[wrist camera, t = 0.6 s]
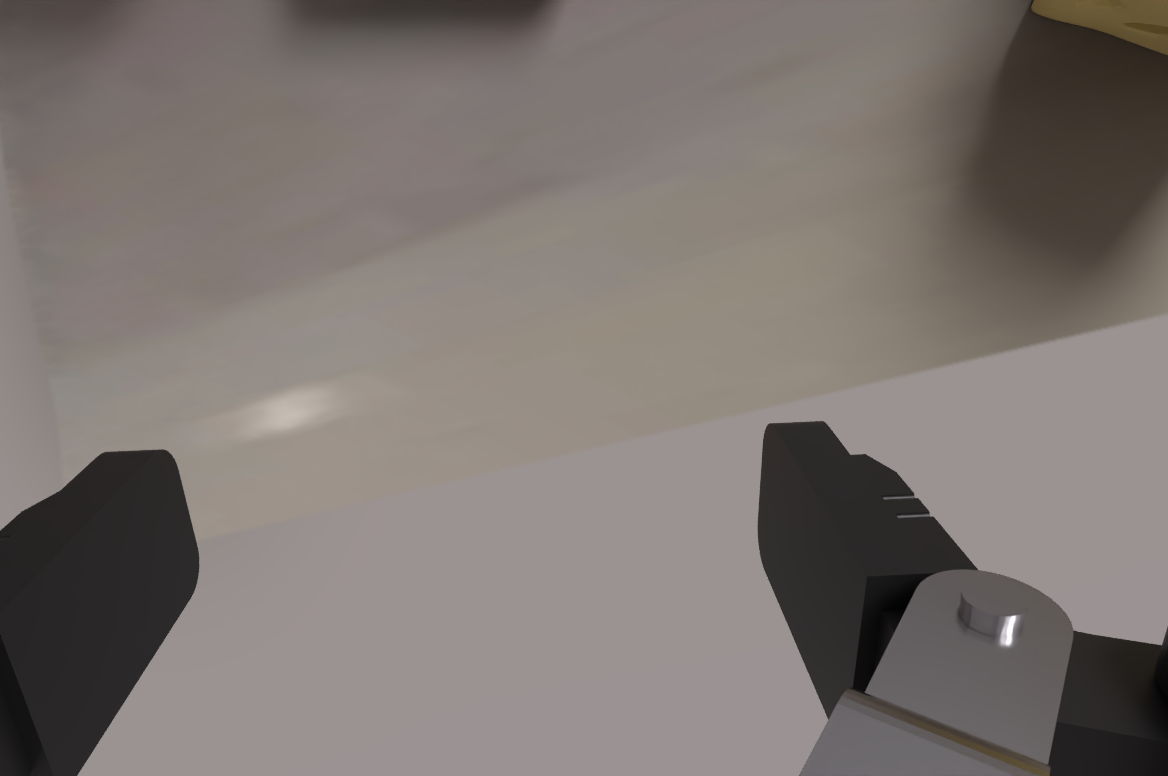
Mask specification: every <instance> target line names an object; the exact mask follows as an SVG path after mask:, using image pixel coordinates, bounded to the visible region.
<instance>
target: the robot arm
mask: <svg viewBox="0 0 1168 776" xmlns="http://www.w3.org/2000/svg"><path fill="white" fill-rule="evenodd" d="M758 542H759V550H760V556H761V560H762V564H763V567H764V570H765V572H766V575H767V577H768V579H769V581H770V584H771V586H772V589H773V591H774V593H775V596H776V598H777V600H778V603H779V605H780V607H781V610H782V612H783V614H784V617H785V619H786V621H787V623H788V626H789V628H790V630H791V633H792V636H793V638H794V640H795V643H796V645H797V647H798V650H799V652H800V654H801V657H802V659H803V661H804V663H805V666H806V668H807V671H808V673H809V675H810V677H811V680H812V682H813V685H814V687H815V689H816V692H817V694H818V696H819V699H820V701H821V703H822V705H823V708H824V710H825V713H826V715H827V717H828V722H827V724H826V726H825V728H824V729H823V731H822V733H821V735H820V737H819V739H818V741H817V743H816V744H815V746H814V748H813V750H812V752H811V754H810V756H809V758H808V760H807V761H806V764H805V765H804V767H803V769H802V771H801V773H800V775H799V776H1168V628H1167V631H1166V634H1165V637H1164V641H1163V644H1162V645H1156V644H1149V643H1142V642H1136V641H1130V640H1124V639H1117V638H1111V637H1104V636H1097V635H1092V634H1087V633H1082V632H1077V631H1073V628H1072V624H1071V622H1070V620H1069V618H1068V616H1067V614H1066V613H1065V612H1064V611H1063V610H1062V608H1060V606H1059V605H1058V604H1056V603H1055V602H1054V601H1053V600H1052V599H1051V598H1049V597H1048V596H1046V595H1045V594H1043V593H1042V592H1040V591H1039V590H1037V589H1035V588H1033V587H1031V586H1029V585H1027V584H1025V583H1023V582H1020V581H1018V580H1016V579H1013V578H1009V577H1007V576H1003V575H1000V574H996V573H991V572H986V571H979V570H978V569H977V568H976V567H975V566H974V564H973V563H972V562H971V561H970V560H969V558H968V557H967V556H966V555H965V554H964V552H963V551H962V550H961V549H960V548H959V547H958V546H957V544H956V543H955V542H954V541H953V539H952V538H951V537H950V536H949V535H948V533H947V532H946V531H945V530H944V529H943V527H942V526H941V525H940V524H939V523H938V521H937V520H936V519H935V518H934V517H930V514H929V511H928V509H927V508H926V507H925V506H924V505H923V504H922V502H921V501H920V500H919V499H918V498H915V497H914V493H913V492H912V491H911V489H910V488H909V487H908V486H907V484H906V483H905V482H904V481H903V480H902V478H901V477H900V476H899V475H898V474H897V472H895V471H893V470H892V469H890V468H888V467H887V466H885V465H883V464H881V463H880V462H878V461H876V460H874V459H873V458H871V457H869V456H867V455H866V454H862V455H850V454H849V452H848V451H847V450H846V449H845V447H844V446H843V445H842V443H841V442H840V441H839V439H838V438H837V437H836V435H835V434H834V433H833V431H832V430H831V429H830V427H829V426H828V425H827V424H826V423H825V422H823V421H815V422H793V423H772V424H771V423H770V424H768V426H767V427H766V430H765V433H764V439H763V451H762V467H761V482H760V497H759V513H758ZM198 574H199V553H198V547H197V543H196V539H195V535H194V531H193V527H192V523H191V519H190V515H189V511H188V507H187V503H186V499H185V494H184V490H183V486H182V482H181V478H180V474H179V470H178V467H177V464H176V462H175V459H174V458H173V456H172V455H171V454H170V453H169V452H168V451H166V450H141V451H118V452H104V453H102V454H100V455H99V456H98V457H97V458H95V459H94V460H93V461H92V462H91V463H90V464H89V465H88V466H87V467H86V468H85V469H83V470H82V471H81V472H80V473H79V474H78V475H77V476H76V477H75V478H74V479H73V480H71V481H70V482H69V483H68V484H67V485H66V486H65V487H64V488H63V489H62V490H61V491H59V492H57V493H56V494H53V495H52V496H50V497H48V498H46V499H44V500H42V501H41V502H39V503H37V504H36V505H33V506H31V507H30V508H28V509H26V510H24V511H22V512H21V513H20V514H19V515H18V516H16V517H15V518H14V519H13V520H12V521H11V522H10V523H9V524H7V525H6V526H5V527H4V528H3V529H2V530H1V531H0V776H77V775H78V773H79V772H80V770H81V769H82V767H83V766H84V764H85V763H86V761H87V759H88V758H89V756H90V755H91V753H92V752H93V750H94V748H95V747H96V745H97V744H98V742H99V741H100V739H101V738H102V736H103V734H104V733H105V731H106V730H107V728H108V727H109V725H110V724H111V722H112V720H113V719H114V717H115V715H116V714H117V713H118V711H119V709H120V708H121V706H122V705H123V703H124V702H125V700H126V699H127V697H128V695H129V694H130V692H131V691H132V689H133V687H134V686H135V684H136V683H137V681H138V680H139V678H140V676H141V675H142V674H143V672H144V670H145V669H146V667H147V666H148V664H149V663H150V661H151V659H152V658H153V656H154V655H155V653H156V652H157V650H158V649H159V646H160V645H161V644H162V642H163V641H164V639H165V638H166V636H167V634H168V633H169V631H170V630H171V628H172V627H173V625H174V624H175V622H176V620H177V619H178V617H179V616H180V614H181V613H182V611H183V610H184V608H185V606H186V605H187V603H188V602H189V600H190V599H191V597H192V595H193V593H194V590H195V588H196V584H197V579H198Z"/></svg>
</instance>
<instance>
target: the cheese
mask: <svg viewBox="0 0 1168 776" xmlns="http://www.w3.org/2000/svg"><path fill="white" fill-rule="evenodd" d="M1031 10H1032V11H1033V12H1035V13H1037V14H1039V15H1041V16H1044V17H1047V18H1050V19H1053V20H1057V21H1062V22H1066V23H1070V24H1075V25H1079V26H1083V27H1087V28H1091V29H1095V30H1098V31H1101V32H1104V33H1108V34H1111V35H1114V36H1116V37H1119V38H1122V39H1124V40H1127V41H1129V42H1132V43H1135V44H1137V45H1140V46H1143V47H1146V48H1148V49H1151V50H1154V51H1157V52H1159V53H1162V54H1165V55H1168V0H1034V1H1033V4H1032V6H1031Z"/></svg>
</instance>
